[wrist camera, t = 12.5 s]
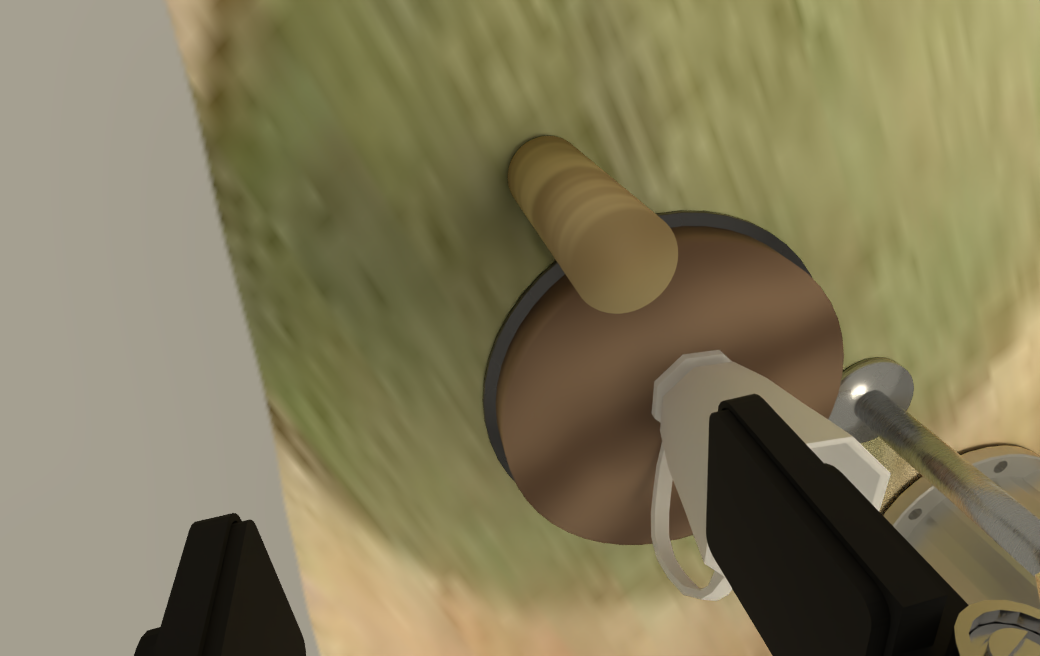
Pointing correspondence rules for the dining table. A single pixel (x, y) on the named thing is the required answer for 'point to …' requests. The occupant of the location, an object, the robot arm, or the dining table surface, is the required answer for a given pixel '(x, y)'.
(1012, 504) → the gauge post
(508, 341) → the turntable base
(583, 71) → the dining table surface
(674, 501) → the turntable
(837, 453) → the cup
